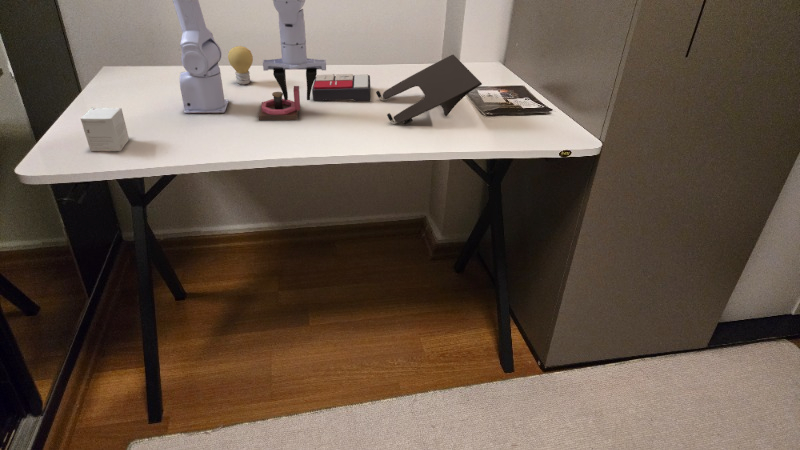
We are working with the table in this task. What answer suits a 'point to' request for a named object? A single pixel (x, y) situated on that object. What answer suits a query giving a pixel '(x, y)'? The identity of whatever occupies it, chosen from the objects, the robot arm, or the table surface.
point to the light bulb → (241, 63)
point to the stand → (278, 105)
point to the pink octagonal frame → (294, 104)
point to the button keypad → (342, 87)
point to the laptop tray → (434, 88)
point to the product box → (105, 129)
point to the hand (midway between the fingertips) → (297, 98)
